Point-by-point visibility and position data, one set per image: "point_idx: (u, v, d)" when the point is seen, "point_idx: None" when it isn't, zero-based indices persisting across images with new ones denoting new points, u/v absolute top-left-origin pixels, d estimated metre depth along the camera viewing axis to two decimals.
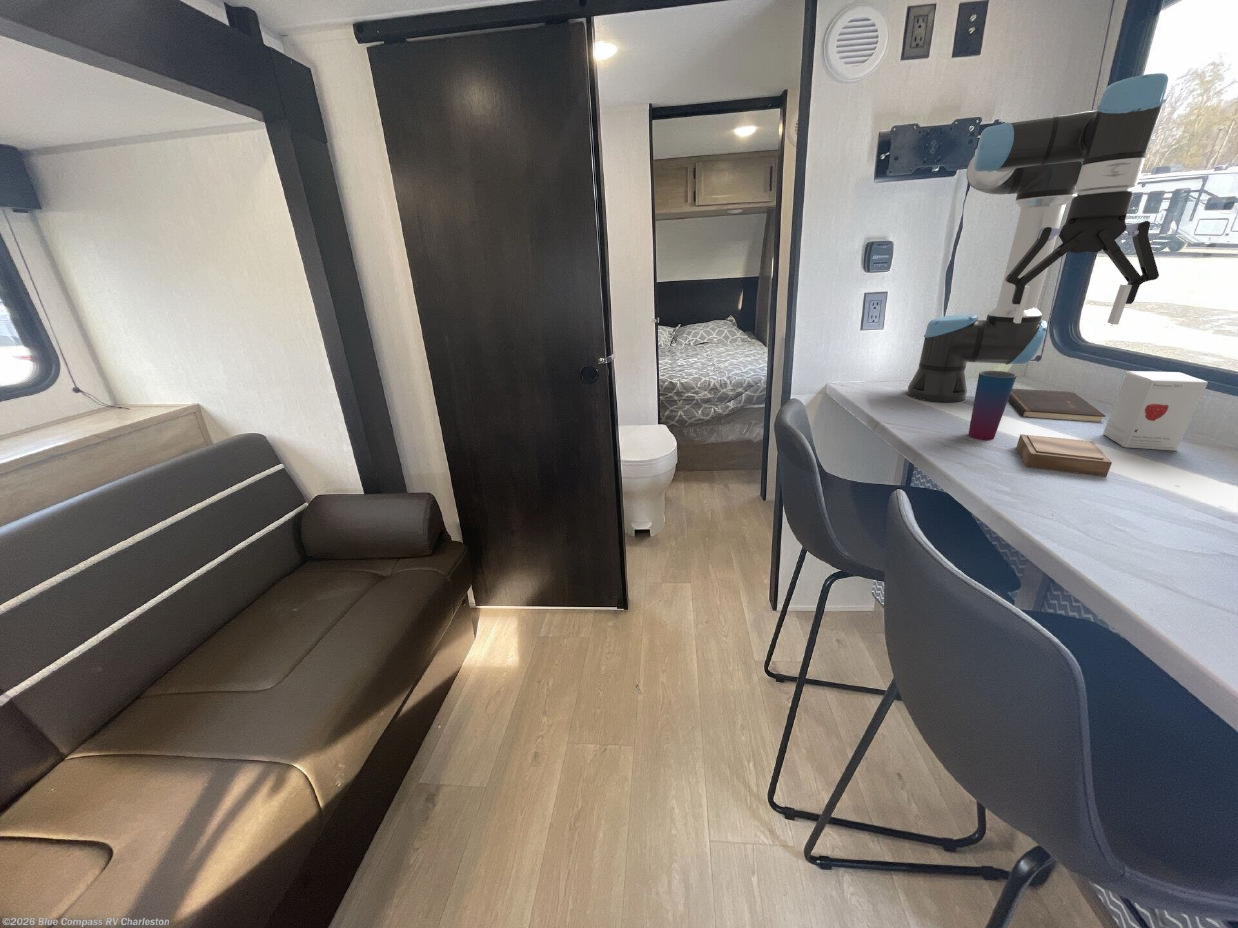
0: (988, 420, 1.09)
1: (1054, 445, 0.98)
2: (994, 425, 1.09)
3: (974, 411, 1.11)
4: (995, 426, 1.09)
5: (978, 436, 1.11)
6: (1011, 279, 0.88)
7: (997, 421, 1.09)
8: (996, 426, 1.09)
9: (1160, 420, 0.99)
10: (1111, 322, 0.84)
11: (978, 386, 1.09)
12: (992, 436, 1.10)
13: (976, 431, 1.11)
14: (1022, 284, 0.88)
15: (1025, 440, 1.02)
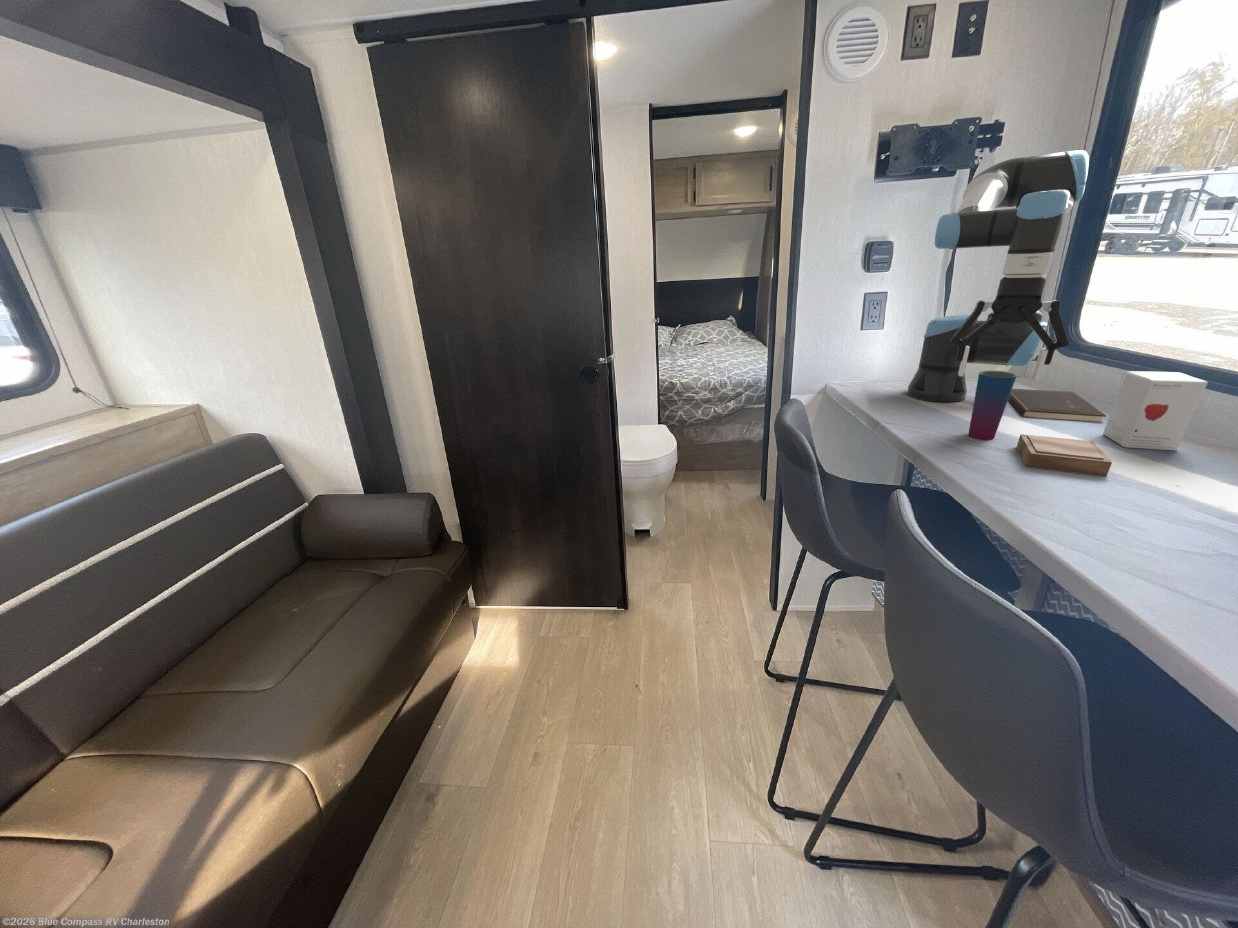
0: (988, 420, 1.09)
1: (1054, 445, 0.98)
2: (994, 425, 1.09)
3: (974, 411, 1.11)
4: (995, 426, 1.09)
5: (978, 436, 1.11)
6: (954, 340, 1.07)
7: (997, 421, 1.09)
8: (996, 426, 1.09)
9: (1160, 420, 0.99)
10: (1034, 378, 1.03)
11: (978, 386, 1.09)
12: (992, 436, 1.10)
13: (976, 431, 1.11)
14: (963, 345, 1.07)
15: (1025, 440, 1.02)
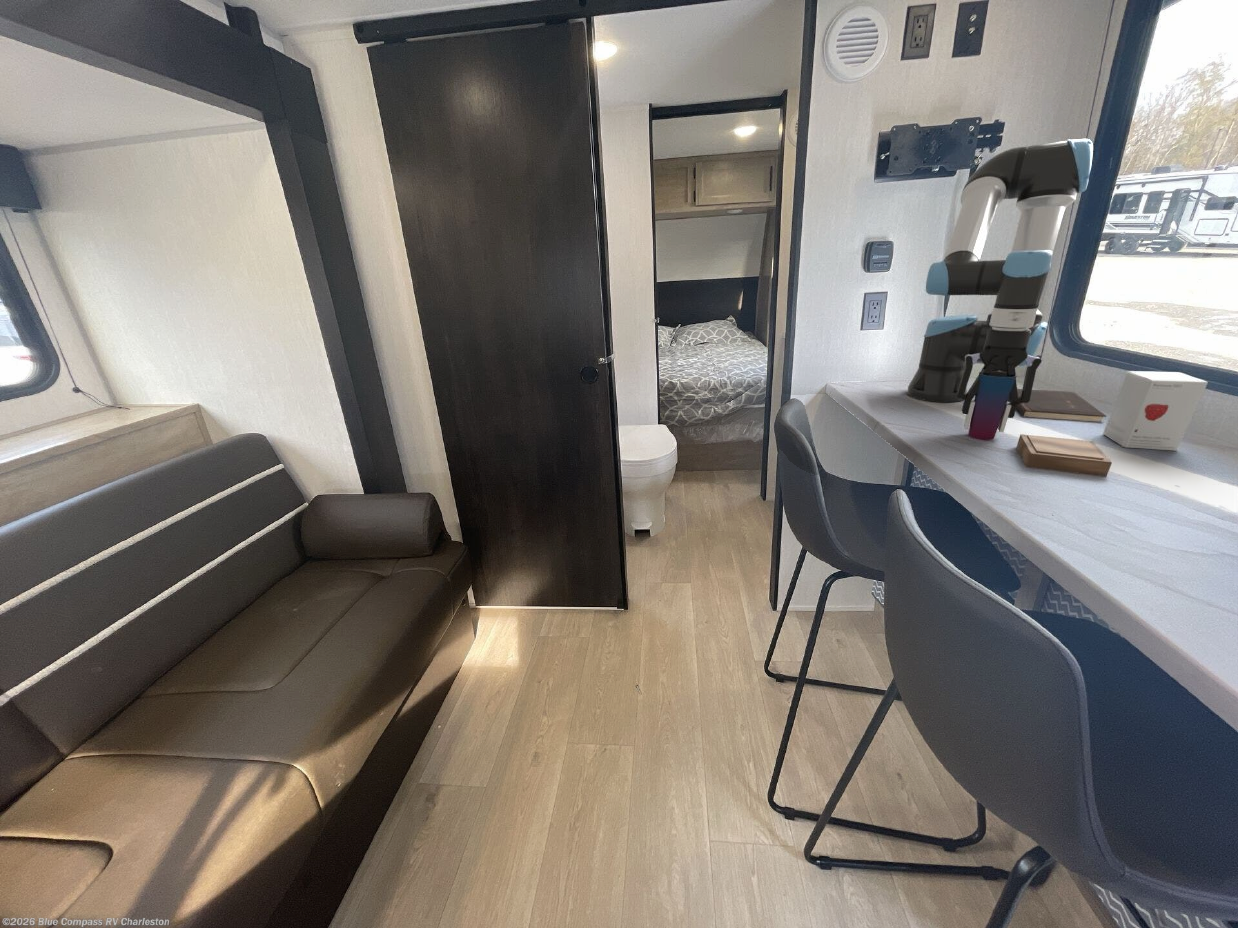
0: (988, 420, 1.09)
1: (1054, 445, 0.98)
2: (994, 425, 1.09)
3: (974, 411, 1.11)
4: (995, 426, 1.09)
5: (978, 436, 1.11)
6: (960, 395, 1.11)
7: (997, 421, 1.09)
8: (996, 426, 1.09)
9: (1160, 420, 0.99)
10: (999, 430, 1.10)
11: None
12: (992, 436, 1.10)
13: (976, 431, 1.11)
14: (969, 400, 1.10)
15: (1025, 440, 1.02)
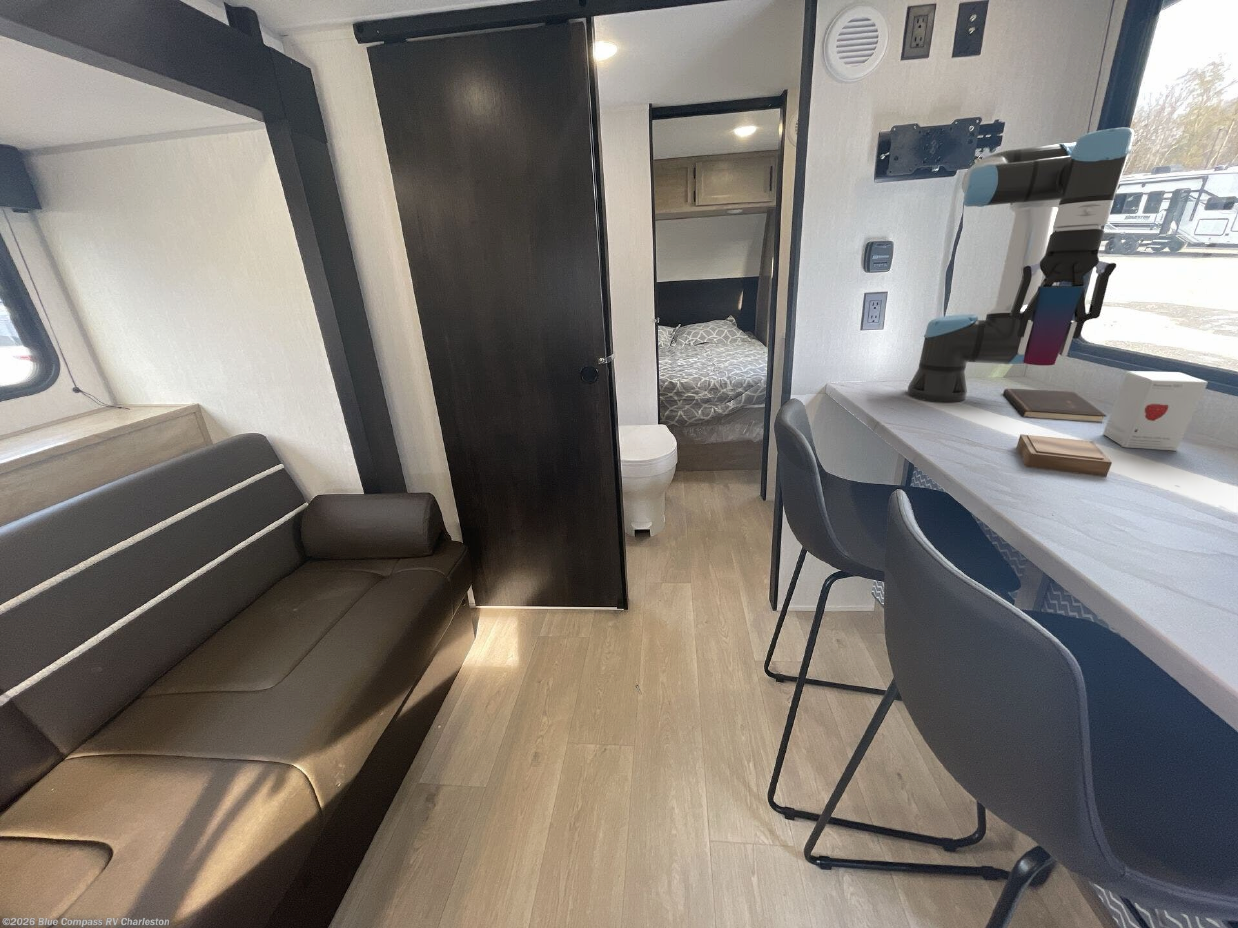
0: (1048, 341, 0.94)
1: (1054, 445, 0.98)
2: (1056, 347, 0.94)
3: (1031, 332, 0.96)
4: (1056, 348, 0.95)
5: (1036, 361, 0.97)
6: (1015, 314, 0.97)
7: (1059, 342, 0.94)
8: (1058, 348, 0.95)
9: (1160, 420, 0.99)
10: (1061, 354, 0.96)
11: None
12: (1052, 361, 0.96)
13: (1033, 356, 0.97)
14: (1026, 319, 0.96)
15: (1025, 440, 1.02)
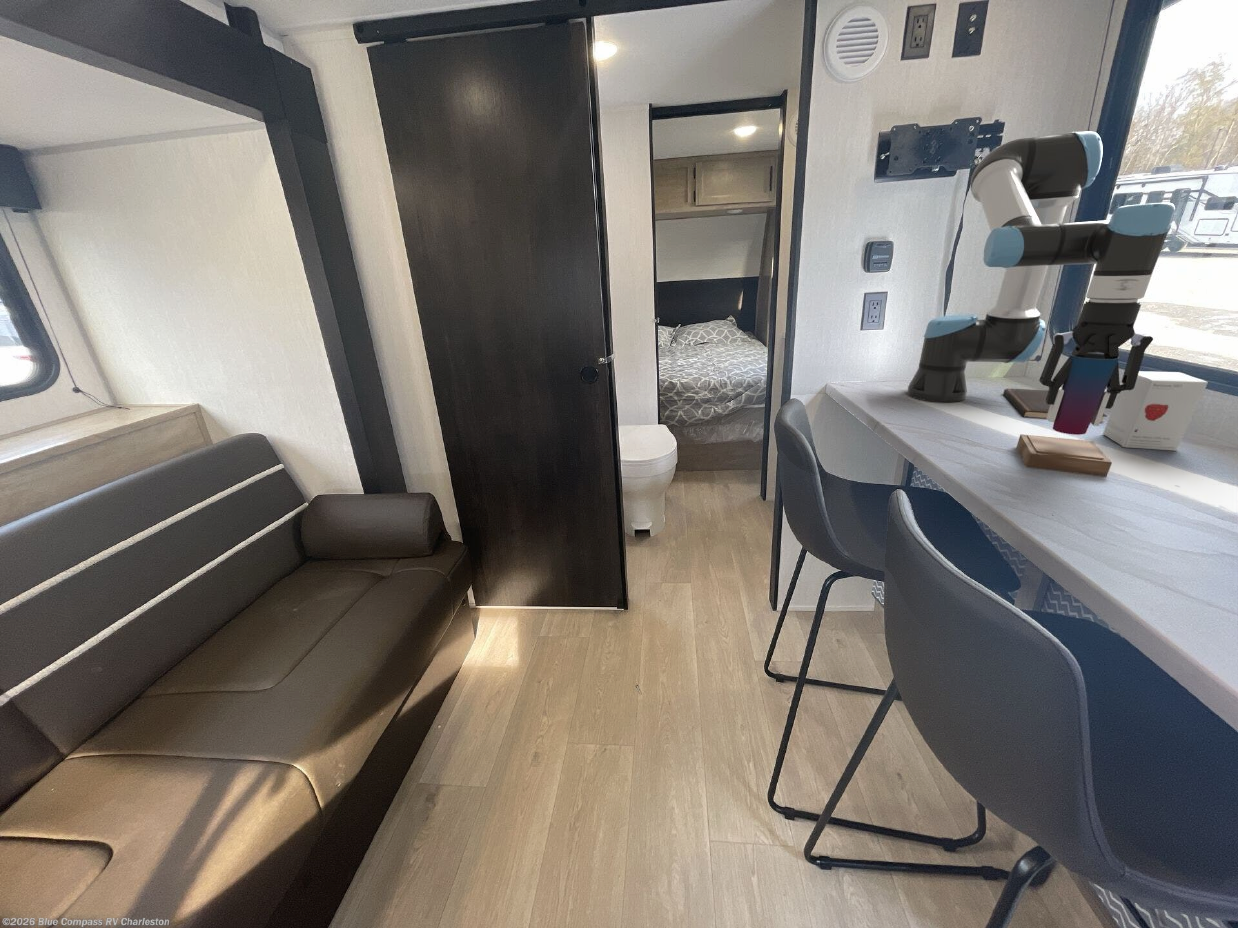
0: (1081, 411, 0.92)
1: (1054, 445, 0.98)
2: (1088, 417, 0.92)
3: (1062, 401, 0.94)
4: (1089, 418, 0.92)
5: (1067, 430, 0.94)
6: (1045, 382, 0.94)
7: (1092, 412, 0.92)
8: (1090, 418, 0.92)
9: (1160, 420, 0.99)
10: (1092, 423, 0.93)
11: None
12: (1084, 430, 0.93)
13: (1065, 424, 0.94)
14: (1057, 387, 0.93)
15: (1025, 440, 1.02)
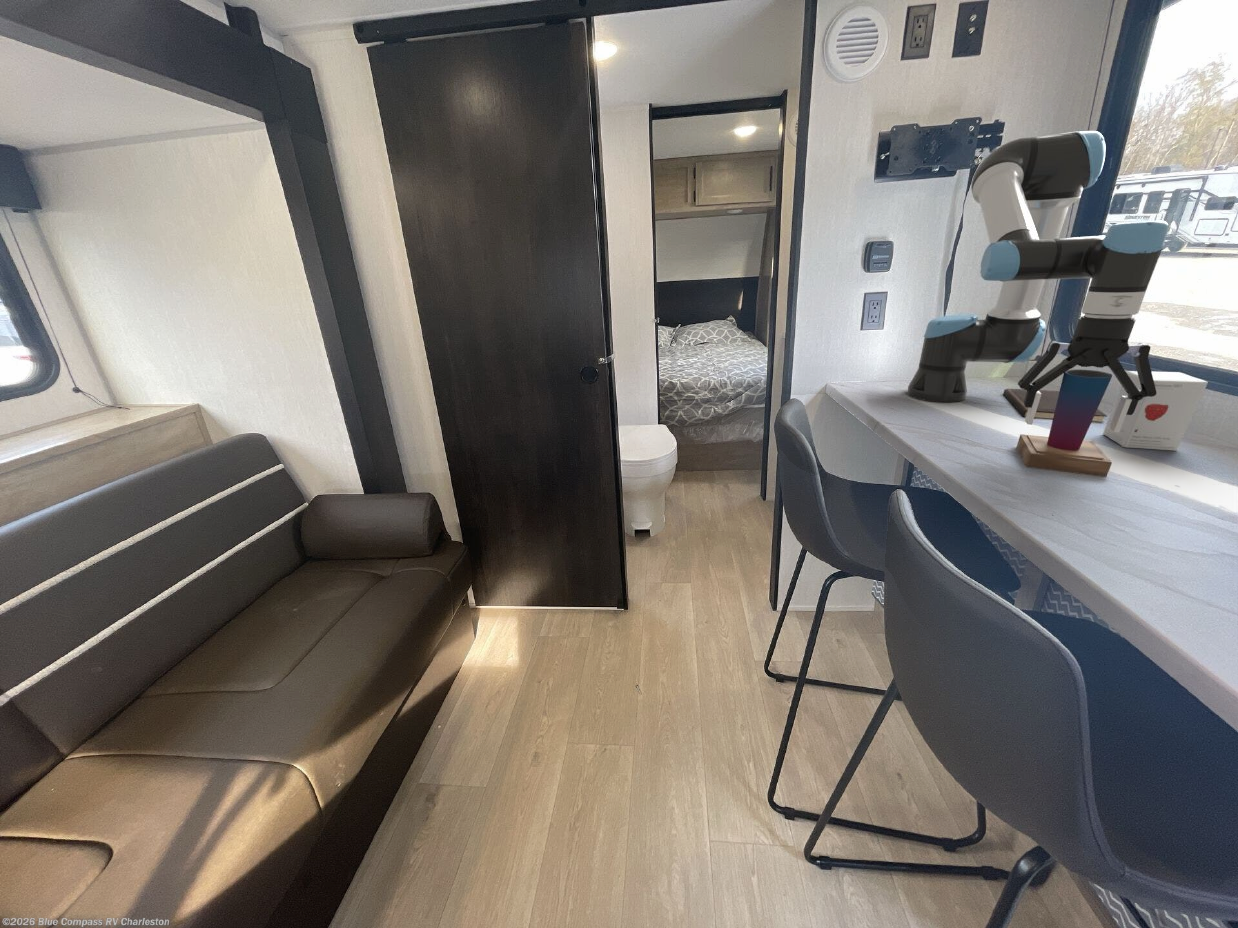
0: (1075, 427, 0.93)
1: None
2: (1082, 433, 0.93)
3: (1057, 417, 0.95)
4: (1083, 434, 0.94)
5: (1061, 446, 0.96)
6: (1023, 385, 0.96)
7: (1085, 428, 0.93)
8: (1084, 434, 0.94)
9: (1160, 420, 0.99)
10: (1113, 429, 0.92)
11: (1063, 388, 0.93)
12: (1078, 446, 0.95)
13: (1059, 440, 0.96)
14: (1034, 391, 0.95)
15: (1025, 440, 1.02)
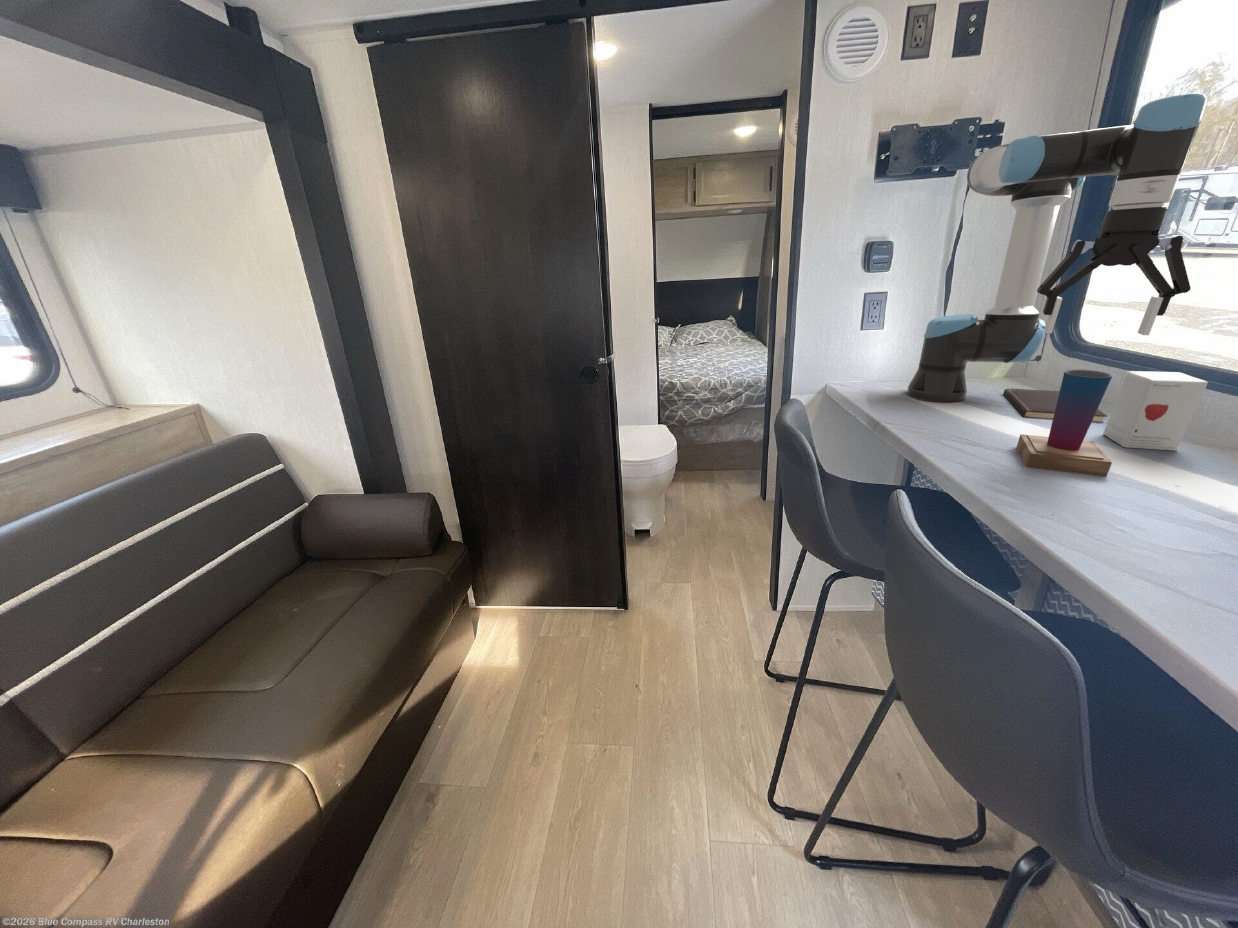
0: (1075, 427, 0.93)
1: None
2: (1082, 433, 0.93)
3: (1057, 417, 0.95)
4: (1083, 434, 0.94)
5: (1061, 446, 0.96)
6: (1043, 290, 0.91)
7: (1086, 428, 0.93)
8: (1084, 434, 0.94)
9: (1160, 420, 0.99)
10: (1142, 333, 0.87)
11: (1063, 388, 0.93)
12: (1078, 446, 0.95)
13: (1059, 440, 0.96)
14: (1054, 295, 0.90)
15: (1025, 440, 1.02)
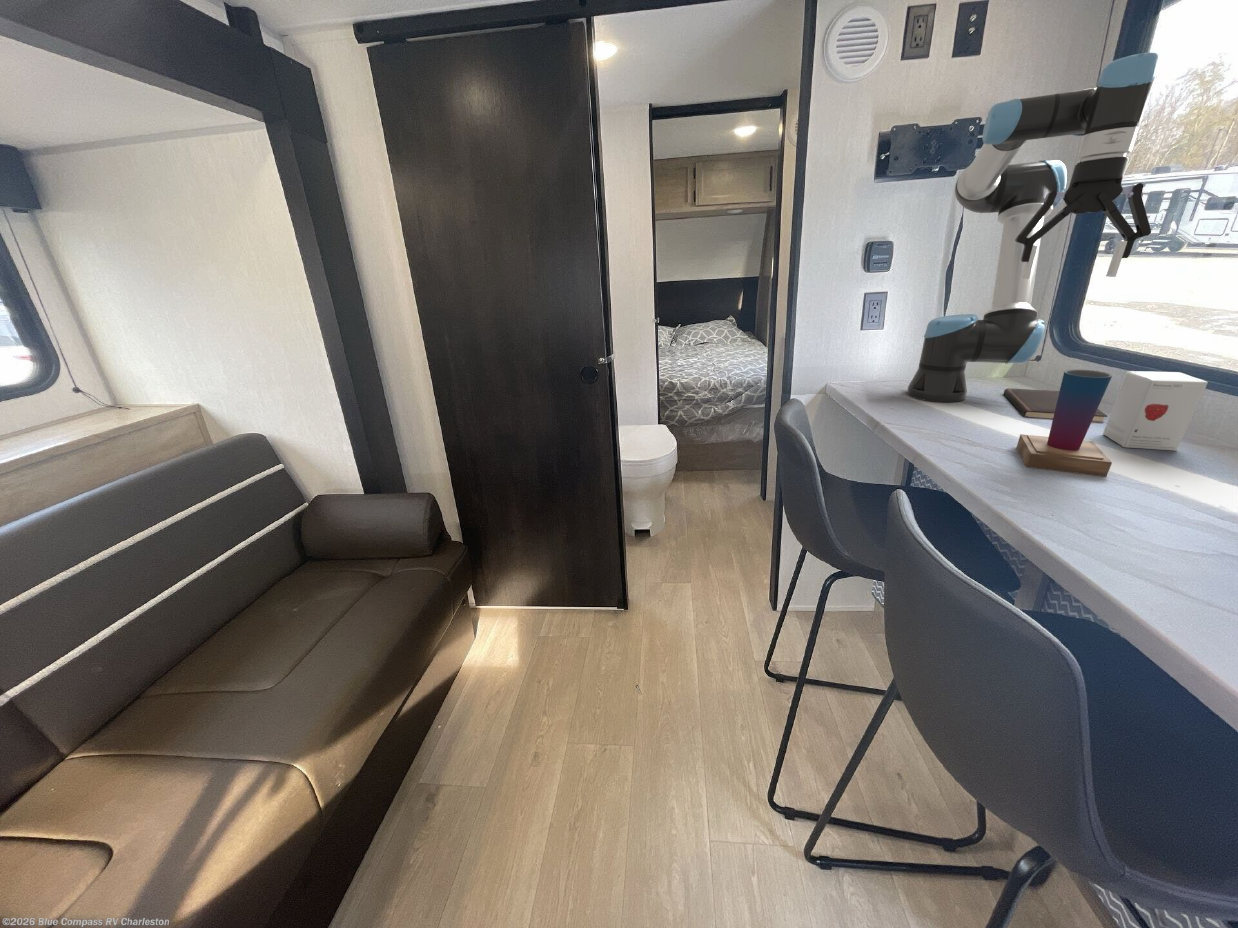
0: (1075, 427, 0.93)
1: None
2: (1082, 433, 0.93)
3: (1057, 417, 0.95)
4: (1083, 434, 0.94)
5: (1061, 446, 0.96)
6: (1021, 239, 1.00)
7: (1085, 428, 0.93)
8: (1084, 434, 0.94)
9: (1160, 420, 0.99)
10: (1109, 275, 0.96)
11: (1063, 388, 0.93)
12: (1078, 446, 0.95)
13: (1059, 440, 0.96)
14: (1030, 243, 0.99)
15: (1025, 440, 1.02)
